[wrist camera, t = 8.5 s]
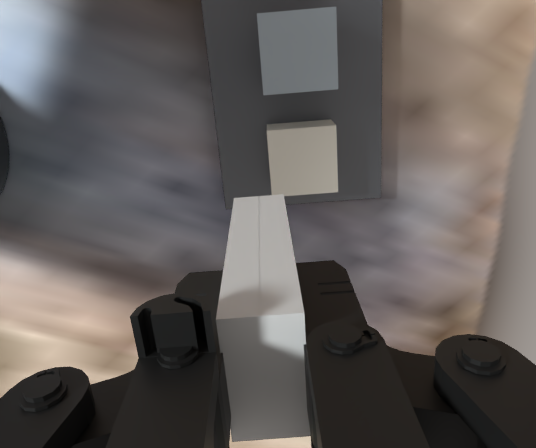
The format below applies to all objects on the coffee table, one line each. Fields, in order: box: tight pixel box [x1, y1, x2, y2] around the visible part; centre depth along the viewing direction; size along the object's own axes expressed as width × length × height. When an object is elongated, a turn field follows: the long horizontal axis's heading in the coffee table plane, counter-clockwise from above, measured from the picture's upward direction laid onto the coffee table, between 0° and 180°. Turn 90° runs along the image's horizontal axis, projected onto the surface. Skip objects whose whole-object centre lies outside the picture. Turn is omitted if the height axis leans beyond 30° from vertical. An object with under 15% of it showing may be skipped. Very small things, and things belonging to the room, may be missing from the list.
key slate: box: [257, 7, 338, 95], centre depth 30 cm, size 5×5×5 cm
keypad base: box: [201, 0, 382, 209], centre depth 33 cm, size 12×22×2 cm, turn 5°
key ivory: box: [267, 119, 338, 196], centre depth 34 cm, size 5×5×5 cm
